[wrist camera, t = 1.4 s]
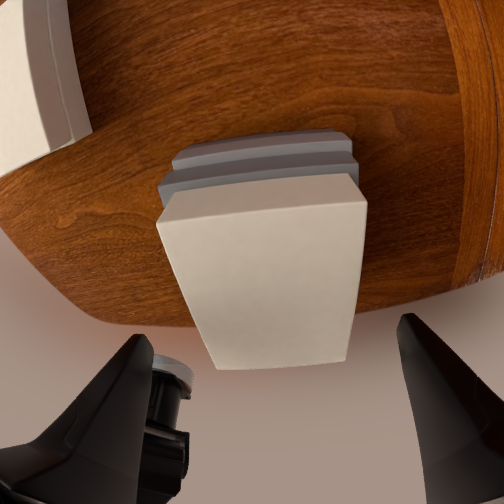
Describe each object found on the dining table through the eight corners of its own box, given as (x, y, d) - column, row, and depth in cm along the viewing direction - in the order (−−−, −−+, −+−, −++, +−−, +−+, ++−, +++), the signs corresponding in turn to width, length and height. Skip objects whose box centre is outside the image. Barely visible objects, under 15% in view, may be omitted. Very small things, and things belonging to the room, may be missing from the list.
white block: (338, 325, 14) (345, 361, 12) (221, 334, 14) (216, 370, 13) (348, 172, 9) (368, 201, 7) (174, 191, 10) (154, 224, 8)
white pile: (93, 132, 12) (54, 155, 10) (17, 166, 13) (-18, 191, 10) (66, -10, 7) (24, -16, 4) (-10, 49, 8) (-49, 59, 5)
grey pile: (334, 275, 18) (348, 332, 14) (222, 285, 18) (213, 342, 15) (334, 124, 12) (365, 151, 8) (184, 141, 13) (153, 176, 9)
